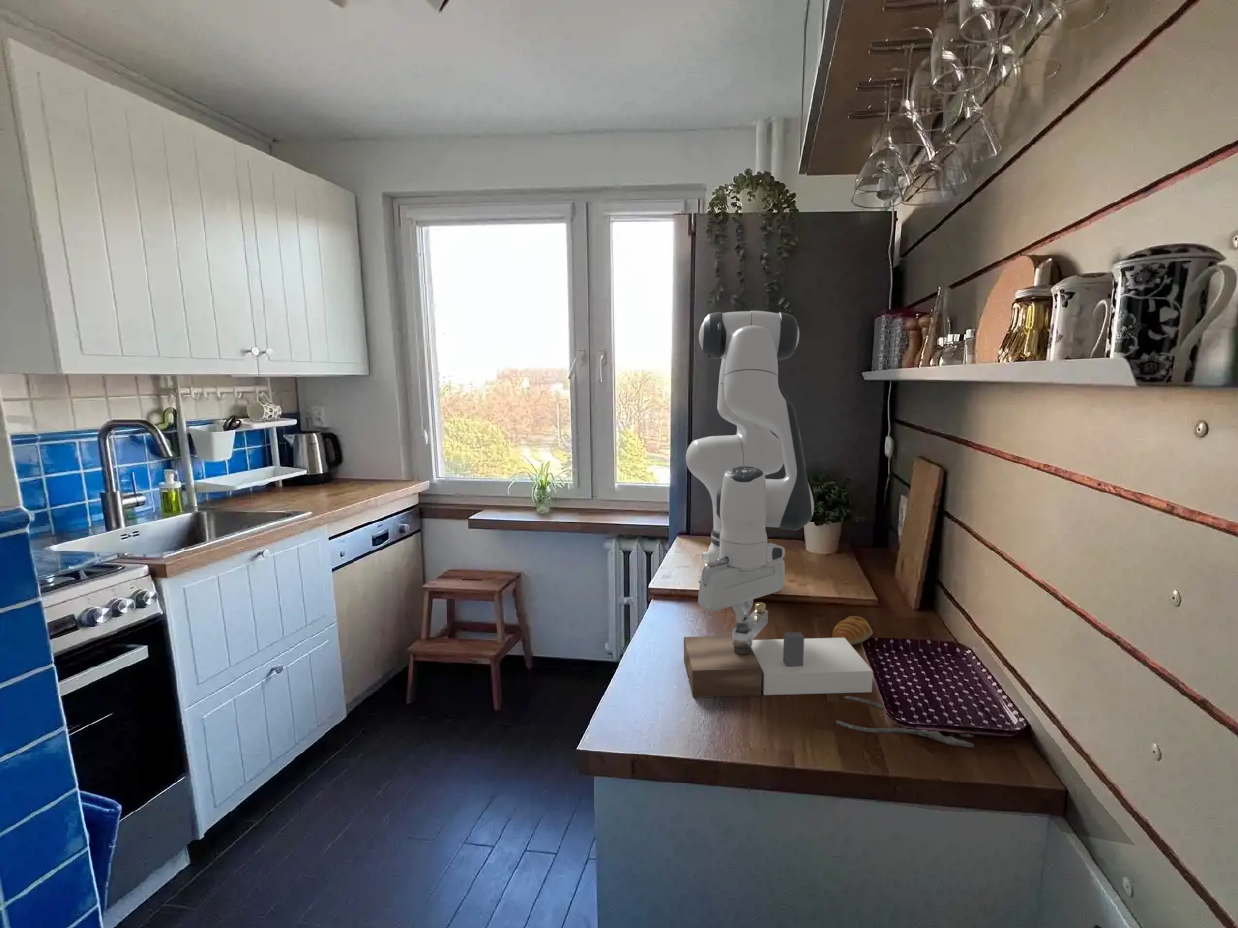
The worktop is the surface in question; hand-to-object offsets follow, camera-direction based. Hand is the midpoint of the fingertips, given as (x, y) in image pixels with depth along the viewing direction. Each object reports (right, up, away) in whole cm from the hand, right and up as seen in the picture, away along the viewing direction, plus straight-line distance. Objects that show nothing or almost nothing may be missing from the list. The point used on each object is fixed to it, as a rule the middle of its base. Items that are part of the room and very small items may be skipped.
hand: (742, 621), depth 118 cm
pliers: (+22, -12, -19) cm, 31 cm away
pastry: (+25, -6, +10) cm, 28 cm away
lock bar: (+1, -2, -2) cm, 3 cm away
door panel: (+11, -9, -5) cm, 15 cm away
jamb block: (-5, -9, -5) cm, 11 cm away
